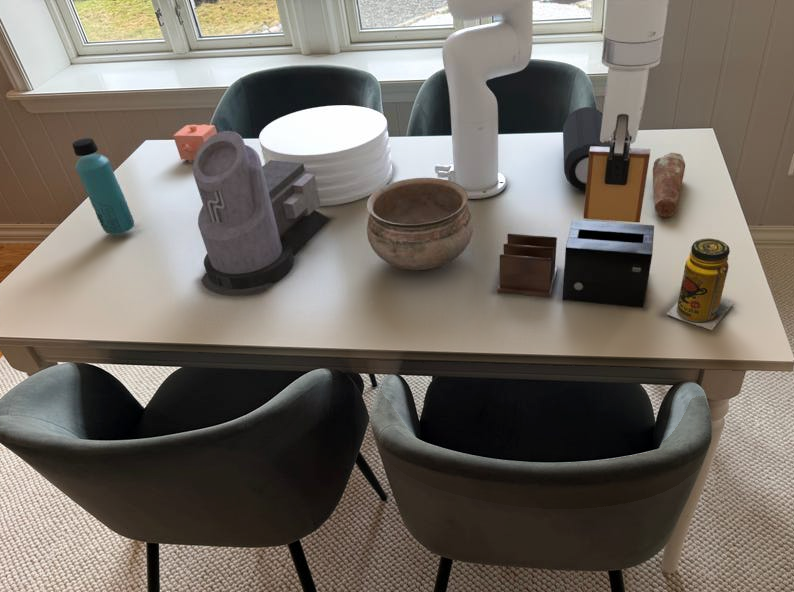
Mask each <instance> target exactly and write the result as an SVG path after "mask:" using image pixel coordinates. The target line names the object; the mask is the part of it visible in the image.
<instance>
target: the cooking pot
mask: <svg viewBox="0 0 794 592" xmlns="http://www.w3.org/2000/svg"><path fill="white" fill-rule="evenodd" d="M448 180H449V179H445V178H438V177H437V178H436V177H413V178H406V179H401V180H397V181H394V182H391V183H387V184H386V185H385V186H384V187H382V188H380V189H378V190H377V191H375V192H374V193H373V194H371V195H369V198H368V200H367V203H366V206H367V208H366V209H367V210H368V213H369V214H368V218H367V225H366V235H367V236H366V237H367V240H368V243H369V245H370V247H371V249H372V250H373V252H374V253H375V254H376V255H377V257H379V258H380V259H381V260H383V261H384V262H385V263H387V264H389V265H391V266H394V267H395V268H400V269H404V270H411V271H428V270H432V269H435V268H440V267H442V266H444V265H446V264H449V263H450V262H452V261H453V260H455V259H456V258H458V257H459V256H460V255H461V254H462V253H464V251H465V250H466V249H467V247H468V245H469V244H470V242H471V240H472V236H473V232H474V219H473V217H472V214H471V211H470V209H469V206H468V204H467V203H468V200H469V198H468V195H467V192H466V191H465V190H464V188H462V187H461V186H460V185H458V184H456V183H454V182H451V181H448Z"/></svg>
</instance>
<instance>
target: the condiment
mask: <svg viewBox="0 0 794 592" xmlns="http://www.w3.org/2000/svg"><path fill="white" fill-rule="evenodd" d="M690 248H691V249H690V252H689V256H688V257H687V258H686V261H685V265H684V270H683V276H682V280H681V286H680V291H679V295H678V301H677V302H676V303H675V304H674V305H673V306H672V307H671V309H669V311H668V312H667V313H666V315H667V316H670V317H673V318H675V319H678V320H680V321H683V322H685V323H689V324H692V325H694V326H697V327H701V328H704V329H707V330H710V331H712V330H713V329H714V328H715V327H716V326H717V325H718V323H719V322H720V321H721V319H723V317H724V316H725V314H726V313H727V312H728V311H729V310H730V308H731V306H732V305H733V304H734V302H732V301H726V300H723V299H722V296H723V293H724V288H725V284H726V279H727V275H728V271H729V267H730V266H729V262H728V261H729V255H730V252H731V250H730V247H729V245H728V244H727V243H725V242H724V241H722V240H720V239H717V238H708V237H707V238H700V239H697V240H696V241H694V242H693V244H692V245H691V247H690Z"/></svg>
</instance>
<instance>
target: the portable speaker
mask: <svg viewBox="0 0 794 592" xmlns="http://www.w3.org/2000/svg"><path fill="white" fill-rule="evenodd" d="M602 117H603V112H601V111H600V110H598V109H597V108H594V107H589V106H585V107H580V108H578V109H575V110H574V111H573V112H571V113H570V114H569V115H568V116H567V118H566V119H565V121H564V124H563V128H562V147H563V172H564V176H565V179H566V181H567V182H568V183H569V184H570V186H572V187H573V188H575V189H576V190H578V191H581V192H584V193H586V183H587V172H588V161H589V151H590V147H591V146H596V147H610V140H609V141H608V142H606V141H604V143H602V142H601V141H600V135H601V126H602Z"/></svg>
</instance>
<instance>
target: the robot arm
mask: <svg viewBox="0 0 794 592" xmlns="http://www.w3.org/2000/svg"><path fill="white" fill-rule="evenodd" d="M533 1H534V0H446V4H447V8H448V11H449V13H450V15H451V17H453V18H454V19H455V20H457V21H461V22H467V21H475V20H482V19H486V18H491V17H497V16H499V21H497V22H492V23H491V22H490V23H487V24H485V23H484V24H479V25H476V26H469V27H466V28H462V29H459V30H457V31H454V32H453V33H451V34H450V35H449V36H448V37H446V39H445V40H444V42H443V45H442V48H441V58H442V63H443V68H444V73H445V77H446V81H447V88H448V96H449V97H448V98H449V110H450V125H451V145H452V147H451V148H452V163H450V164H449V165H447V164H439V163H438V164H435V167H434V173H435V174H437V178H438V179H445V178H446V179H447V180H448V181H451V182H454V183H456V184H458V185H460V186H461V187H462V188H464V190H465V191H466V192H467V195H468V200H469V199H471V200H478V199H486V198H490V197H494V196H496V195H498V194H499V193H501V192H502V191H503V190H504V189H505V188H506V184H507V183H506V182H507V181H506V178H505V177H506V176H504V175H503V174H502V173H500V171H499V106H498V105H499V104H498V101H497V96H495V94H494V92H493V91H491V88H489V87H488V85H487V82H488V81H489V80H492V79H496V78H500V77H504V76H508V75H512V74H515V73H518V72H521V71H523V70H525V68H527V67H528V65H529V63H530V61H531V59H532V53H533V21H534V20H533V19H534V17H533V14H534V13H533V12H534V11H533V9H534V7H533ZM550 1H551V2H554V3H555V4H559V5H571V4H576V3H581V2H585V1H587V0H550ZM669 3H670V0H606V8H605V9H606V11H605V19H604V30H603V31H604V32H603V43H602V51H601V64H603V66H604V67H607V68H608V69H607V75H606V81H605V90H604V99H603V106H602V107H603V108H602V114H603V117H602V126H601V135H600V141H601V142H602V143H604V141H606V142H608V141H609V140H610V150H609V157H607V164H606V173H605V184H610V185H626V184H627V178H628V171H629V163H630V158H628V157H629V149H630V148H631V145H632V144H634V143H635V142H636V140H637V136H638V133H639V129H640V124H641V121H642V120H641V119H642V115H643V110H644V105H645V98H646V95H647V94H646V93H647V88H648V81H649V80H648V79H649V74H650V69H651V68H654V67H656V66H658V65H659V64H660V62H661V55H662V48H663V42H664V36H665V31H666V30H665V29H666V23H667V17H668V16H667V15H668V10H669Z"/></svg>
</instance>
